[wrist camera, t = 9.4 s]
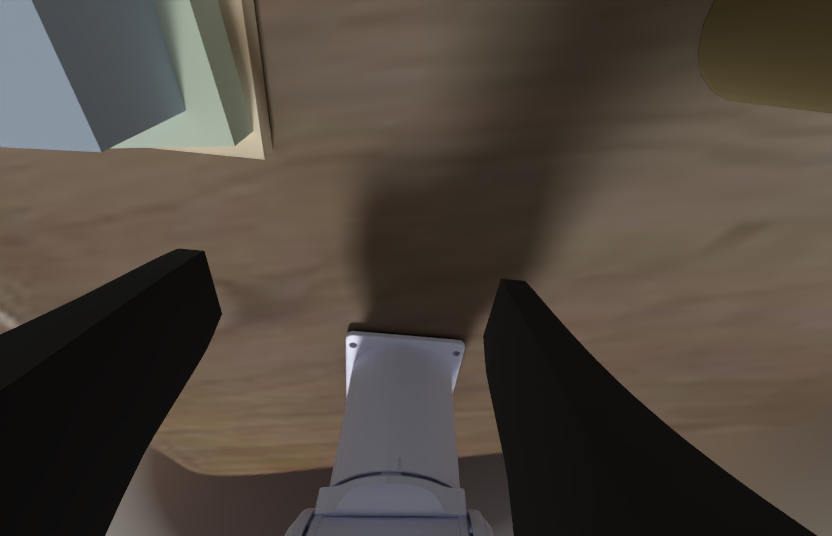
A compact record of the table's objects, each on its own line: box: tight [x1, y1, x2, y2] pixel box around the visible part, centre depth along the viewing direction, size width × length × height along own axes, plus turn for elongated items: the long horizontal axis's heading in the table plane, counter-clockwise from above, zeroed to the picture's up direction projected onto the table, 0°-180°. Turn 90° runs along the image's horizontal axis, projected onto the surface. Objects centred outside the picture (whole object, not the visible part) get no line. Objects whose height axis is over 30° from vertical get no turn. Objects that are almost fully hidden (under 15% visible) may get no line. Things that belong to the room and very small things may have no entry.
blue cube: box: [0, 0, 186, 152], centre depth 11 cm, size 4×4×4 cm
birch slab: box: [154, 0, 273, 160], centre depth 15 cm, size 9×9×2 cm
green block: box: [111, 0, 253, 148], centre depth 13 cm, size 7×7×2 cm
